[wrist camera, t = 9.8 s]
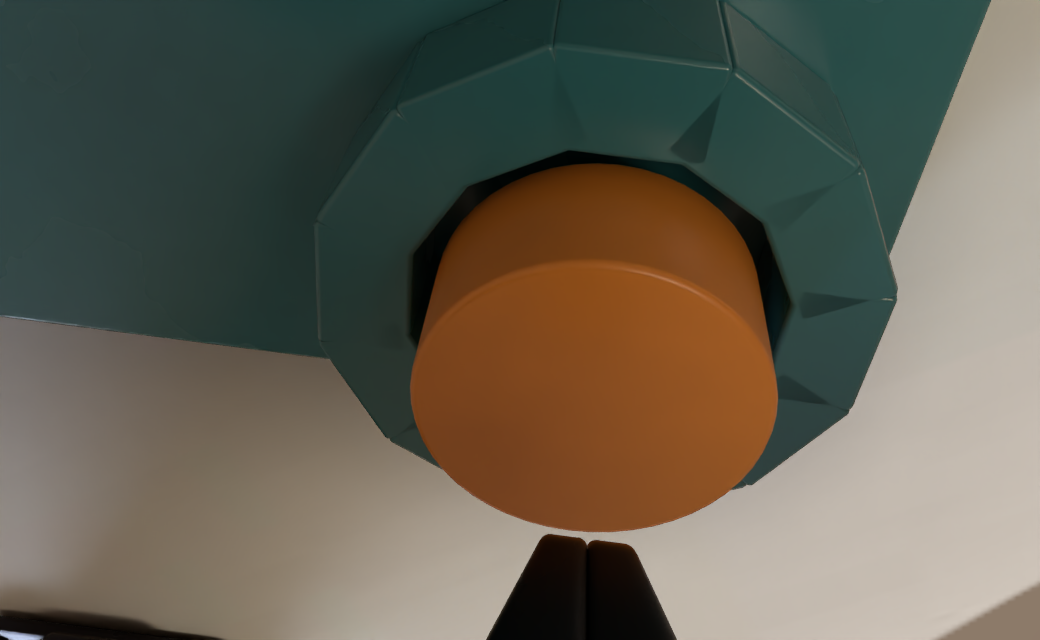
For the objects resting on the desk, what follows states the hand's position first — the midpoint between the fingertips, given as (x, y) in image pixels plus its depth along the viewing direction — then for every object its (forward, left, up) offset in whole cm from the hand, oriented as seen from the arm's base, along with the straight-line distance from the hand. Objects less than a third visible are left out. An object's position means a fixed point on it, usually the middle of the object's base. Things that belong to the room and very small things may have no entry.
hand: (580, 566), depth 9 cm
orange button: (0, 0, -4) cm, 4 cm away
